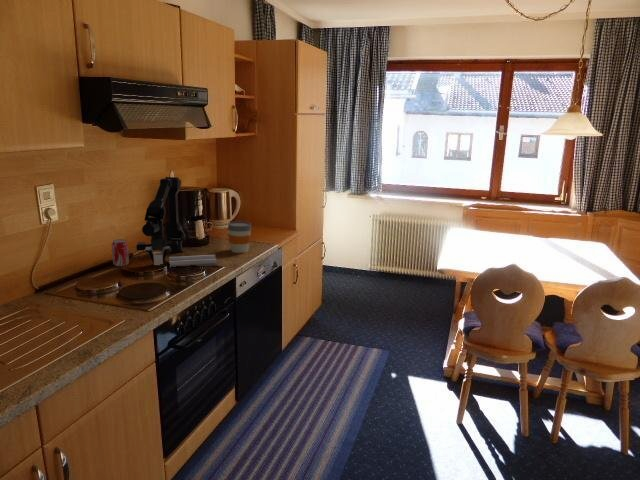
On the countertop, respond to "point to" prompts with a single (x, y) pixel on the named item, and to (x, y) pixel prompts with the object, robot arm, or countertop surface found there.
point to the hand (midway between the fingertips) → (158, 262)
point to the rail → (193, 260)
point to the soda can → (120, 252)
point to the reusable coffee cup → (239, 236)
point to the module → (158, 258)
